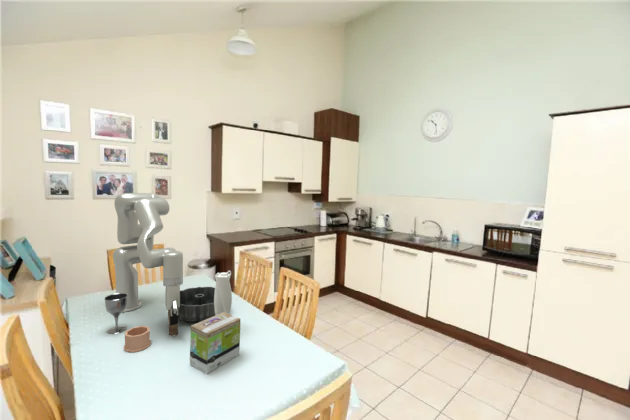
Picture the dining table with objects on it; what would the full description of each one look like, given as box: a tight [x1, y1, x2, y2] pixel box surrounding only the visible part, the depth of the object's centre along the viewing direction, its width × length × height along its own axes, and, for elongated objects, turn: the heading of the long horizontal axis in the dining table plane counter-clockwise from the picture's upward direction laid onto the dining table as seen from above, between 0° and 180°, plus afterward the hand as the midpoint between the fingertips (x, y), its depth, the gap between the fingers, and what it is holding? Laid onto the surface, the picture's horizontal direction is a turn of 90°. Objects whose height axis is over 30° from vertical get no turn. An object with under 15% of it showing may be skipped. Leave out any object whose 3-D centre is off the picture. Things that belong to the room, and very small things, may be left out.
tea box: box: [189, 312, 241, 375], centre depth 108 cm, size 15×10×15 cm
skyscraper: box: [214, 270, 233, 315], centre depth 127 cm, size 8×8×28 cm
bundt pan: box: [178, 286, 215, 323], centre depth 144 cm, size 26×26×10 cm
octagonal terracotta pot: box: [123, 325, 152, 353], centre depth 115 cm, size 9×9×6 cm
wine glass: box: [104, 293, 127, 335], centre depth 126 cm, size 8×8×15 cm
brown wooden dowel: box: [168, 302, 179, 337], centre depth 125 cm, size 4×4×14 cm
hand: (173, 319), depth 125 cm, fingers open, 9 cm apart
